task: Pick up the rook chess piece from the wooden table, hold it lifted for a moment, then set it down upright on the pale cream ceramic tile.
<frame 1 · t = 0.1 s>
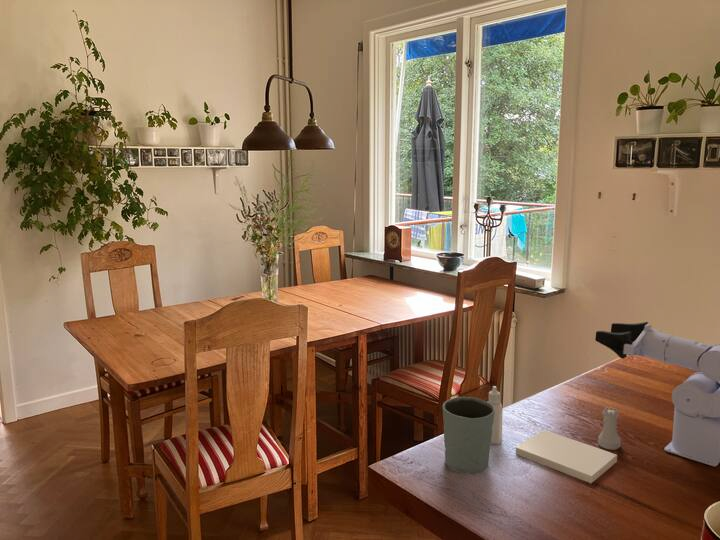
hand: (604, 331, 129), 22 cm above the table, tool horizontal, fingers open, 7 cm apart
rook chess piece: (608, 446, 122), on the table
eye dropper bottle: (493, 439, 127), on the table
green cup: (468, 463, 117), on the table
cream tile: (565, 457, 118), on the table
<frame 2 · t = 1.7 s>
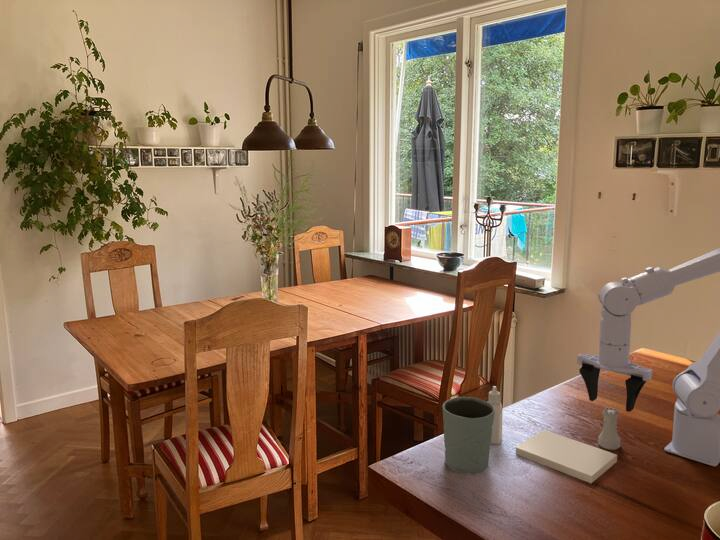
hand: (611, 404, 121), 9 cm above the table, tool pointing down, fingers open, 7 cm apart
nothing on the table moved.
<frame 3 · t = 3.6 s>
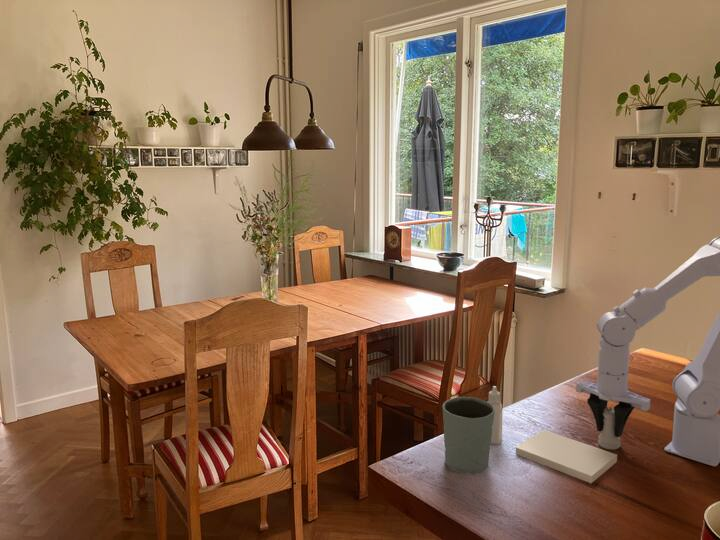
hand: (609, 432, 122), 3 cm above the table, tool pointing down, fingers closed on rook chess piece, 3 cm apart
rook chess piece: (608, 446, 122), on the table, touching gripper
everything else where it was.
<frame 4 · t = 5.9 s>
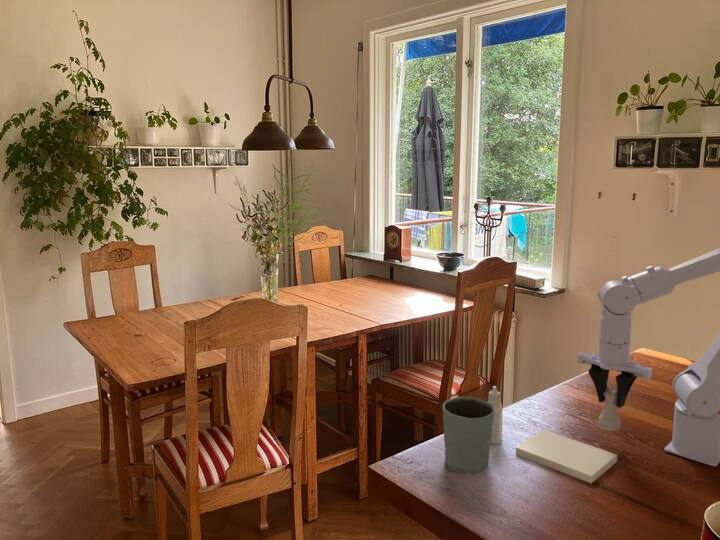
hand: (611, 403, 120), 9 cm above the table, tool pointing down, fingers closed on rook chess piece, 3 cm apart
rook chess piece: (608, 427, 121), point 4 cm above the table, touching gripper
everything else where it was.
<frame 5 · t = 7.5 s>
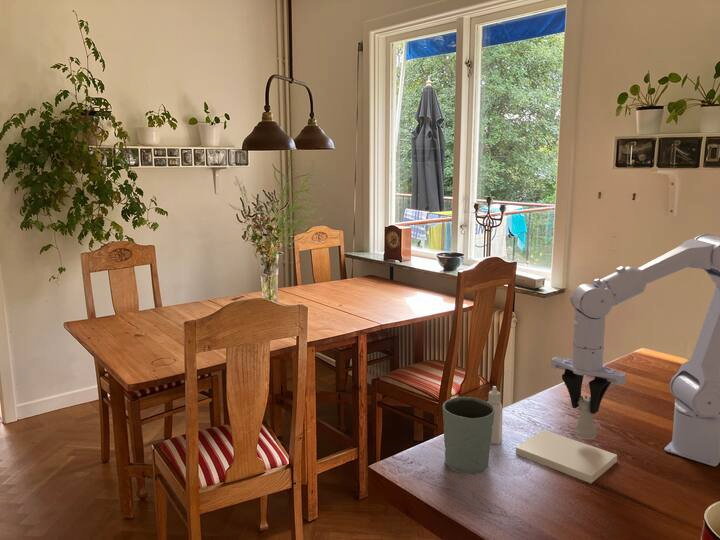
hand: (585, 409, 118), 9 cm above the table, tool pointing down, fingers closed on rook chess piece, 3 cm apart
rook chess piece: (585, 435, 119), point 4 cm above the table, touching gripper
everything else where it was.
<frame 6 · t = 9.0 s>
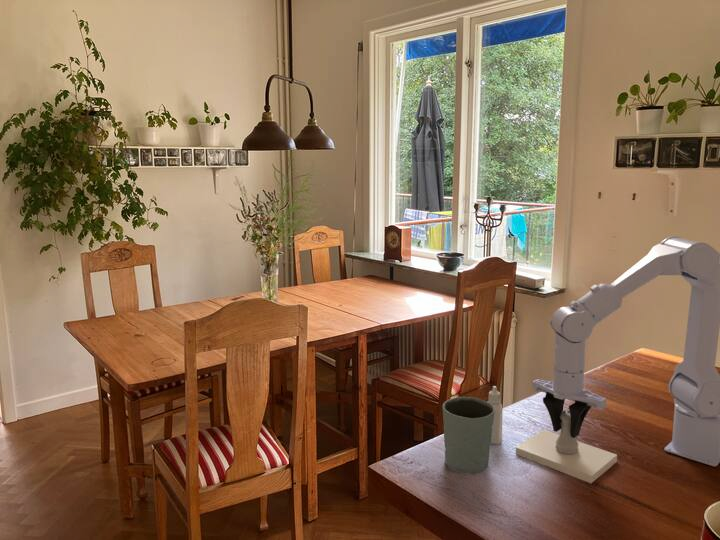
hand: (566, 432, 117), 5 cm above the table, tool pointing down, fingers closed on rook chess piece, 3 cm apart
rook chess piece: (566, 450, 118), point 1 cm above the table, touching cream tile, gripper
everything else where it was.
when the fingers open (5 cm above the table, at t = 9.7 s): rook chess piece stays where it is, resting on cream tile.
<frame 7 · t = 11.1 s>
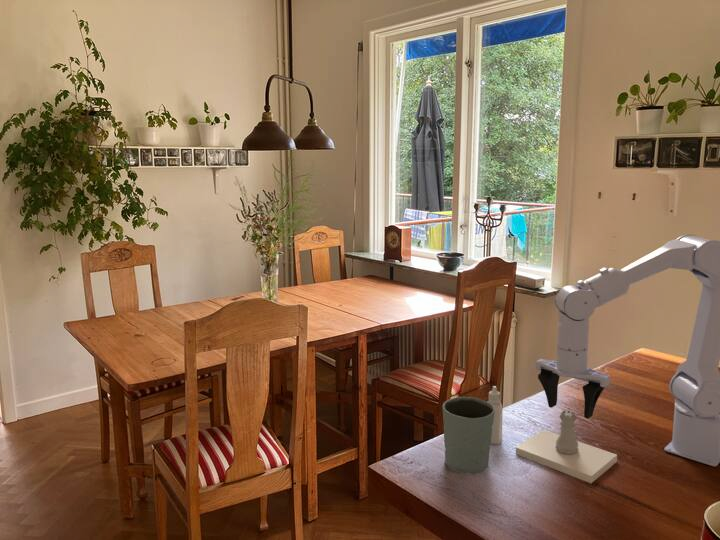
hand: (570, 411, 117), 9 cm above the table, tool pointing down, fingers open, 7 cm apart
rook chess piece: (566, 450, 118), point 1 cm above the table, touching cream tile
everything else where it was.
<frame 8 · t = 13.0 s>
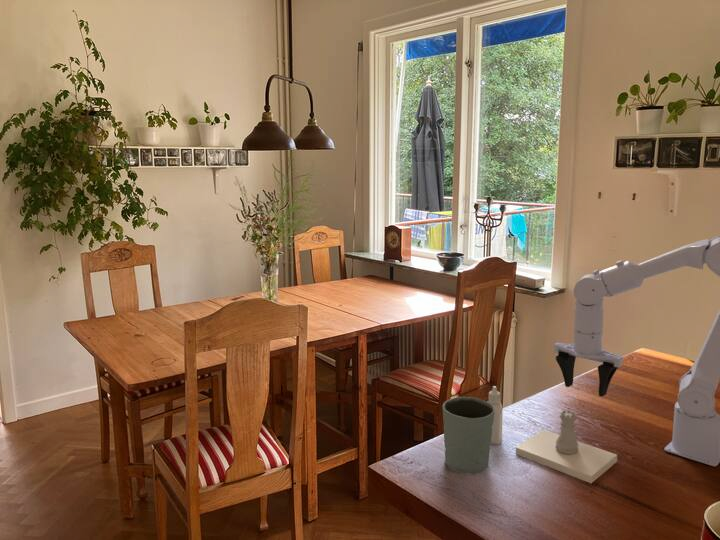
hand: (585, 390, 127), 9 cm above the table, tool pointing down, fingers open, 7 cm apart
nothing on the table moved.
at the end: rook chess piece inside the target area on the cream tile (0.5 cm from its centre), point 1.3 cm above the cream tile's base; rook chess piece tilted 0°; the gripper is holding nothing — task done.
